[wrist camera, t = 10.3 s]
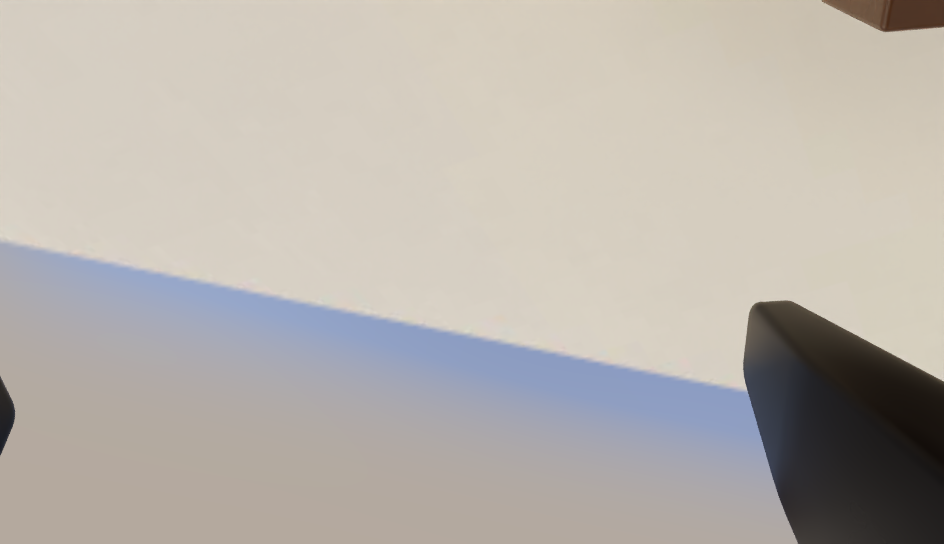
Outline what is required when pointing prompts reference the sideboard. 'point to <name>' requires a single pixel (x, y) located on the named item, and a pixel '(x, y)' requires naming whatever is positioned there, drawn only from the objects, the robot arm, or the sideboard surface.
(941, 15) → the cake knife
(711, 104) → the sideboard surface
